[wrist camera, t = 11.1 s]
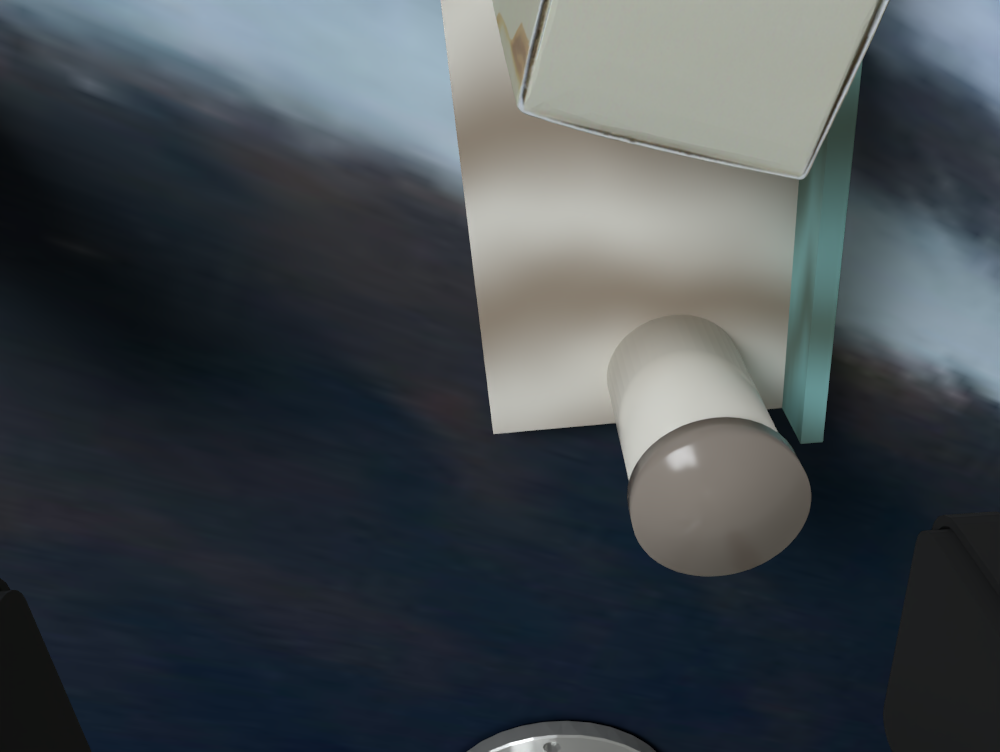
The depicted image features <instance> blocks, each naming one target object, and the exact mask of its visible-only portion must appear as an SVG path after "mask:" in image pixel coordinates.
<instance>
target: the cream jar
mask: <svg viewBox="0 0 1000 752" xmlns="http://www.w3.org/2000/svg"><path fill="white" fill-rule="evenodd" d="M607 386H608V391H609V395H610V399H611V404H612V408H613V413H614V417H615V421H616V426H617V430H618V435H619V439H620V443H621V448H622V452H623V457H624V461H625V465H626V470H627V474H628V479H629V484H628V489H627V500H628V507H629V512H630V517H631V521H632V526H633V529H634V533H635V536H636V538H637V540H638V542H639V544H640V545H641V546H642V548H643V549H644V550H645V552H646V553H647V554H648V555H649V556H650V557H652V558H653V559H654V560H656V561H657V562H658V563H660V564H662V565H663V566H665V567H667V568H670V569H672V570H674V571H677V572H681V573H684V574H689V575H695V576H722V575H730V574H734V573H739V572H742V571H745V570H748V569H751V568H754V567H756V566H758V565H760V564H763V563H764V562H766V561H768V560H770V559H771V558H773V557H774V556H776V555H777V554H779V553H780V552H781V551H782V550H784V549H785V548H786V547H787V546H788V545H789V544H790V543H791V542H792V541H793V540H794V539H795V538H796V536H797V535H798V533H799V532H800V531H801V529H802V527H803V525H804V523H805V521H806V519H807V516H808V514H809V510H810V505H811V489H810V483H809V480H808V478H807V475H806V473H805V471H804V469H803V467H802V465H801V463H800V461H799V459H798V457H797V455H796V453H795V451H794V450H793V448H792V446H791V445H790V444H789V443H788V441H787V440H786V439H785V438H784V437H782V436H781V435H780V434H779V433H778V431H777V429H776V427H775V425H774V423H773V421H772V419H771V417H770V415H769V413H768V411H767V409H766V407H765V405H764V403H763V401H762V399H761V397H760V395H759V393H758V391H757V389H756V386H755V384H754V382H753V380H752V378H751V376H750V374H749V372H748V370H747V368H746V366H745V364H744V362H743V360H742V358H741V356H740V354H739V352H738V350H737V348H736V346H735V344H734V342H733V340H732V339H731V337H730V336H729V335H728V334H727V333H726V332H725V331H724V330H723V329H722V328H721V327H719V326H718V325H716V324H715V323H713V322H711V321H709V320H707V319H704V318H701V317H697V316H692V315H669V316H663V317H660V318H656V319H653V320H651V321H648V322H646V323H644V324H642V325H640V326H639V327H637V328H636V329H634V330H633V331H631V332H630V333H629V334H628V335H627V336H626V337H625V338H624V339H623V340H622V341H621V342H620V343H619V345H618V346H617V348H616V349H615V351H614V353H613V355H612V356H611V359H610V362H609V365H608V370H607Z"/></svg>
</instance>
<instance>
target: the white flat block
mask: <svg viewBox="0 0 1000 752" xmlns="http://www.w3.org/2000/svg"><path fill="white" fill-rule="evenodd" d="M441 7H442V15H443V24H444V32H445V40H446V48H447V56H448V65H449V73H450V81H451V89H452V98H453V106H454V114H455V122H456V130H457V139H458V147H459V155H460V163H461V172H462V180H463V188H464V196H465V204H466V213H467V221H468V229H469V237H470V246H471V254H472V262H473V270H474V278H475V287H476V295H477V303H478V311H479V320H480V328H481V336H482V344H483V352H484V361H485V369H486V377H487V385H488V394H489V402H490V410H491V418H492V426H493V434H499V433H510V432H521V431H532V430H543V429H554V428H565V427H576V426H587V425H598V424H609V423H616V421H615V417H614V413H613V408H612V404H611V399H610V395H609V391H608V386H607V370H608V365H609V362H610V359H611V356H612V355H613V353H614V351H615V349H616V348H617V346H618V345H619V343H620V342H621V341H622V340H623V339H624V338H625V337H626V336H627V335H628V334H629V333H630V332H631V331H633V330H634V329H636V328H637V327H639V326H640V325H642V324H644V323H646V322H648V321H651V320H653V319H656V318H660V317H663V316H669V315H692V316H697V317H701V318H704V319H707V320H709V321H711V322H713V323H715V324H716V325H718V326H719V327H721V328H722V329H723V330H724V331H725V332H726V333H727V334H728V335H729V336H730V337H731V339H732V340H733V342H734V344H735V346H736V348H737V350H738V352H739V354H740V356H741V358H742V360H743V362H744V364H745V366H746V368H747V370H748V372H749V374H750V376H751V378H752V380H753V382H754V384H755V386H756V389H757V391H758V393H759V395H760V397H761V399H762V401H763V403H764V405H765V407H766V409H775V408H782V409H783V411H784V413H785V415H786V416H787V418H788V420H789V422H790V424H791V426H792V428H793V430H794V432H795V434H796V436H797V438H798V440H799V442H800V444H805V443H816V442H823V435H824V425H825V416H826V406H827V397H828V387H829V377H830V368H831V358H832V348H833V339H834V329H835V320H836V310H837V300H838V291H839V281H840V272H841V262H842V252H843V243H844V233H845V224H846V214H847V204H848V195H849V185H850V175H851V166H852V156H853V147H854V137H855V127H856V118H857V108H858V99H859V89H860V79H861V70H862V62H861V64H860V66H859V68H858V70H857V72H856V75H855V77H854V79H853V82H852V84H851V86H850V88H849V90H848V93H847V95H846V96H845V98H844V100H843V103H842V105H841V107H840V108H839V110H838V112H837V114H836V116H835V119H834V121H833V123H832V125H831V127H830V129H829V132H828V134H827V136H826V138H825V140H824V141H823V143H822V145H821V147H820V149H819V151H818V153H817V156H816V158H815V160H814V162H813V165H812V167H811V169H810V171H809V173H808V175H807V176H806V177H805V178H804V179H802V180H796V179H791V178H786V177H781V176H776V175H771V174H766V173H760V172H755V171H751V170H746V169H741V168H735V167H730V166H726V165H721V164H716V163H712V162H707V161H702V160H698V159H693V158H689V157H684V156H680V155H676V154H671V153H667V152H663V151H658V150H653V149H650V148H646V147H642V146H637V145H633V144H629V143H625V142H621V141H617V140H612V139H608V138H605V137H601V136H597V135H593V134H589V133H586V132H583V131H579V130H575V129H572V128H569V127H565V126H562V125H558V124H555V123H551V122H548V121H545V120H542V119H539V118H536V117H532V116H529V115H526V114H524V113H522V112H521V111H520V110H519V109H518V107H517V105H516V100H515V96H514V93H513V89H512V84H511V80H510V76H509V71H508V67H507V64H506V60H505V55H504V50H503V47H502V43H501V37H500V33H499V28H498V24H497V20H496V16H495V12H494V7H493V2H492V0H441Z"/></svg>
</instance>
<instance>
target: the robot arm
mask: <svg viewBox="0 0 1000 752" xmlns="http://www.w3.org/2000/svg"><path fill="white" fill-rule="evenodd" d="M883 718H884V727H885V732H886V736H887V740H888V742H889V745H890V747H891V750H892V752H1000V513H999V512H983V513H968V514H953V515H943V516H939V517H938V518H937V519H936V521H935V522H934V525H933V528H932V530H927V531H922V532H921V533H920V534H919V535H918V537H917V541H916V545H915V550H914V555H913V560H912V565H911V570H910V576H909V581H908V586H907V591H906V596H905V601H904V606H903V611H902V617H901V622H900V627H899V632H898V637H897V642H896V647H895V652H894V658H893V663H892V668H891V673H890V678H889V683H888V688H887V693H886V699H885V704H884V711H883ZM0 752H91V750H90V747H89V745H88V743H87V740H86V738H85V736H84V734H83V731H82V729H81V727H80V724H79V722H78V720H77V717H76V715H75V713H74V710H73V708H72V706H71V703H70V701H69V699H68V696H67V694H66V692H65V690H64V687H63V685H62V683H61V680H60V678H59V676H58V673H57V671H56V669H55V666H54V664H53V662H52V659H51V657H50V655H49V652H48V650H47V648H46V646H45V643H44V641H43V639H42V636H41V634H40V632H39V629H38V627H37V625H36V622H35V620H34V618H33V615H32V613H31V611H30V608H29V606H28V604H27V601H26V599H25V598H24V596H23V594H22V593H20V592H19V591H17V590H10V588H9V587H8V585H7V584H6V582H4V581H3V580H2V579H0ZM467 752H656V751H655V750H654V749H653V748H651V747H650V746H649V745H648V744H646V743H645V742H643V741H641V740H640V739H638V738H636V737H634V736H633V735H631V734H628V733H625V732H623V731H620V730H617V729H615V728H612V727H608V726H604V725H599V724H594V723H590V722H577V721H551V722H540V723H534V724H529V725H523V726H519V727H516V728H513V729H510V730H507V731H503V732H500V733H498V734H496V735H494V736H492V737H490V738H488V739H486V740H484V741H482V742H480V743H479V744H477V745H476V746H474V747H473V748H471V749H470V750H469V751H467Z"/></svg>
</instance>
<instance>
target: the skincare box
mask: <svg viewBox="0 0 1000 752" xmlns="http://www.w3.org/2000/svg"><path fill="white" fill-rule="evenodd" d="M889 1H890V0H492V2H493V7H494V12H495V16H496V20H497V24H498V28H499V33H500V37H501V43H502V47H503V50H504V55H505V60H506V64H507V67H508V71H509V76H510V80H511V84H512V89H513V93H514V96H515V100H516V105H517V107H518V109H519V110H520V111H521V112H522V113H524V114H526V115H529V116H532V117H536V118H539V119H542V120H545V121H548V122H551V123H555V124H558V125H562V126H565V127H569V128H572V129H575V130H579V131H583V132H586V133H589V134H593V135H597V136H601V137H605V138H608V139H612V140H617V141H621V142H625V143H629V144H633V145H637V146H642V147H646V148H650V149H653V150H658V151H663V152H667V153H671V154H676V155H680V156H684V157H689V158H693V159H698V160H702V161H707V162H712V163H716V164H721V165H726V166H730V167H735V168H741V169H746V170H751V171H755V172H760V173H766V174H771V175H776V176H781V177H786V178H791V179H796V180H802V179H804V178H805V177H806V176H807V175H808V173H809V171H810V169H811V167H812V165H813V162H814V160H815V158H816V156H817V153H818V151H819V149H820V147H821V145H822V143H823V141H824V140H825V138H826V136H827V134H828V132H829V129H830V127H831V125H832V123H833V121H834V119H835V116H836V114H837V112H838V110H839V108H840V107H841V105H842V103H843V100H844V98H845V96H846V95H847V93H848V90H849V88H850V86H851V84H852V82H853V79H854V77H855V75H856V72H857V70H858V68H859V66H860V64H861V62H862V60H863V57H864V55H865V53H866V51H867V49H868V47H869V45H870V43H871V41H872V39H873V37H874V34H875V32H876V30H877V28H878V25H879V23H880V21H881V19H882V16H883V14H884V12H885V10H886V7H887V5H888V3H889Z"/></svg>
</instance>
